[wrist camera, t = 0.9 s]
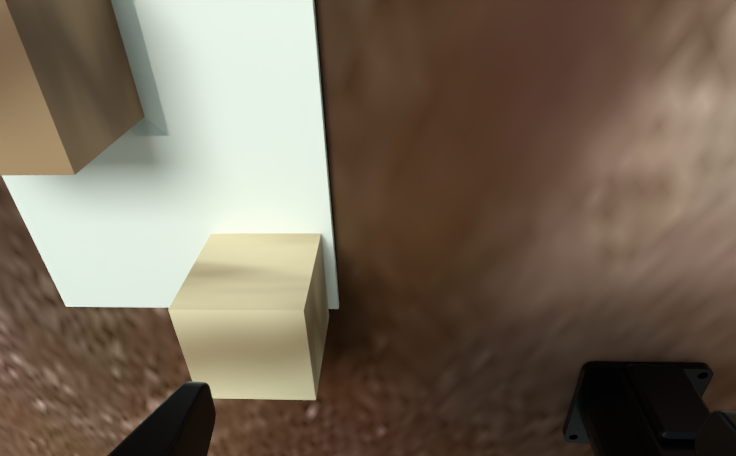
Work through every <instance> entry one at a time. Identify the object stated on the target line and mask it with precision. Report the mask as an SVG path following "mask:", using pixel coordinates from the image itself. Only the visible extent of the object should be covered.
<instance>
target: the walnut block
mask: <svg viewBox="0 0 736 456" xmlns="http://www.w3.org/2000/svg"><path fill="white" fill-rule="evenodd" d="M144 117H145V116H144V113H143V109H142V106H141V102H140V99H139V96H138V92H137V89H136V85H135V82H134V78H133V75H132V72H131V68H130V65H129V61H128V58H127V54H126V51H125V47H124V44H123V41H122V37H121V34H120V30H119V27H118V23H117V20H116V16H115V13H114V10H113V6H112V3H111V0H0V175H75V174H76V173H78V172H79V171H80V170H81V169H82V168H84V167H85V166H86V165H87V164H88V163H90V162H91V161H92V160H93V159H94V158H96V157H97V156H98V155H99V154H101V153H102V152H103V151H104V150H105V149H107V148H108V147H109V146H110V145H111V144H113V143H114V142H115V141H116V140H117V139H119V138H120V137H121V136H122V135H123V134H125V133H126V132H127V131H128V130H129V129H131V128H132V127H133V126H134V125H135V124H137V123H138V122H139V121H140V120H141V119H143V118H144Z"/></svg>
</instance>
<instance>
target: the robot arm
mask: <svg viewBox="0 0 736 456" xmlns="http://www.w3.org/2000/svg"><path fill="white" fill-rule="evenodd" d="M712 376H713V372H712V370H711V369H710V367H709V366H708V365H707V364H704V363H657V362H589V363H586V364H585V365H584V366H583V367H582V370H581V373H580V377H579V380H578V383H577V386H576V390H575V393H574V396H573V399H572V403H571V406H570V409H569V412H568V416H567V419H566V422H565V425H564V429H563V435H564V438H565V440H566V441H568V442H579V443H590V444H591V447H592V450H593V453H594V455H595V456H736V411H728V410H715V411H713V412H711V413H710V411H709V410H708V408H707V406H706V405H705V403H704V402H703V400H702V398H701V397H702V395H703V393H704V391H705V390H706V388H707V386H708V384H709V382H710V380H711V378H712ZM215 416H216V412H215V407H214V402H213V398H212V394H211V390H210V387H209V385H208V384H207V383H206V382H193V381H188V382H185V383H183V384H182V385H181V386H180V387H179V388H178V389H177V390H175V391H174V392H173V393H172V394H171V395H170V396H169V397H168V398H167V399H166V400H165V401H164V402H163V403H162V404H161V405H160V406H159V407H158V408H157V409H156V410H155V411H154V412H152V413H151V414H150V415H149V416H148V417H147V418H146V419H145V420H144V421H143V422H142V423H141V424H140V425H139V426H138V427H137V428H136V429H135V430H134V431H133V432H132V433H131V434H130V435H128V436H127V437H126V438H125V439H124V440H123V441H122V442H121V443H120V444H119V445H118V446H117V447H116V448H115V449H114V450H113V451H112V452H111V453H110V454H109V455H108V456H207V453H208V449H209V445H210V441H211V437H212V432H213V428H214V424H215Z"/></svg>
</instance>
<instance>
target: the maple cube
mask: <svg viewBox="0 0 736 456" xmlns="http://www.w3.org/2000/svg"><path fill="white" fill-rule="evenodd" d="M168 310H169V313H170V316H171V319H172V322H173V325H174V328H175V331H176V334H177V337H178V340H179V343H180V346H181V349H182V352H183V354H184V357H185V360H186V363H187V366H188V369H189V372H190V375H191V378H192V381H193V382H206V383H207V384H208V385H209V387H210V390H211V394H212V398H229V399H283V400H316V397H317V390H318V384H319V378H320V371H321V365H322V359H323V353H324V346H325V340H326V334H327V328H328V321H329V308H328V298H327V288H326V278H325V268H324V258H323V248H322V238H321V233H211V235H210V236H209V238H208V240H207V242H206V243H205V245H204V247H203V249H202V250H201V252H200V254H199V256H198V258H197V259H196V261H195V263H194V265H193V266H192V268H191V270H190V272H189V274H188V275H187V277H186V279H185V281H184V282H183V284H182V286H181V288H180V289H179V291H178V293H177V295H176V297H175V298H174V300H173V302H172V304H171V305H170V307H169V309H168Z"/></svg>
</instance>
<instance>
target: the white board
mask: <svg viewBox="0 0 736 456" xmlns="http://www.w3.org/2000/svg"><path fill="white" fill-rule="evenodd" d="M111 3H112V6H113V10H114V13H115V16H116V20H117V23H118V27H119V30H120V34H121V37H122V41H123V44H124V47H125V51H126V54H127V58H128V61H129V65H130V68H131V72H132V75H133V78H134V82H135V85H136V89H137V92H138V96H139V99H140V102H141V106H142V109H143V113H144V116H145V117H144V118H143V119H141V120H140V121H139V122H138V123H137V124H135V125H134V126H133V127H132V128H131V129H129V130H128V131H127V132H126V133H125V134H123V135H122V136H121V137H120V138H119V139H117V140H116V141H115V142H114V143H113V144H111V145H110V146H109V147H108V148H107V149H105V150H104V151H103V152H102V153H101V154H99V155H98V156H97V157H96V158H94V159H93V160H92V161H91V162H90V163H88V164H87V165H86V166H85V167H84V168H82V169H81V170H80V171H79V172H78V173H76V174H75V175H2V177H3V179H4V181H5V183H6V185H7V187H8V189H9V191H10V193H11V196H12V198H13V200H14V202H15V204H16V206H17V208H18V210H19V212H20V214H21V216H22V218H23V220H24V222H25V224H26V226H27V228H28V230H29V232H30V234H31V236H32V238H33V240H34V242H35V244H36V246H37V249H38V251H39V253H40V255H41V257H42V259H43V261H44V263H45V265H46V267H47V269H48V271H49V273H50V275H51V277H52V279H53V281H54V283H55V285H56V287H57V289H58V291H59V293H60V295H61V297H62V299H63V302H64V304H65V306H66V307H170V305H171V304H172V302H173V300H174V298H175V297H176V295H177V293H178V291H179V289H180V288H181V286H182V284H183V282H184V281H185V279H186V277H187V275H188V274H189V272H190V270H191V268H192V266H193V265H194V263H195V261H196V259H197V258H198V256H199V254H200V252H201V250H202V249H203V247H204V245H205V243H206V242H207V240H208V238H209V236H210V235H211V233H321V238H322V248H323V258H324V268H325V278H326V288H327V298H328V308H329V309H339V293H338V281H337V269H336V257H335V245H334V233H333V220H332V208H331V196H330V184H329V172H328V160H327V147H326V135H325V123H324V111H323V99H322V87H321V74H320V62H319V50H318V38H317V26H316V14H315V2H314V0H111Z"/></svg>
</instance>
